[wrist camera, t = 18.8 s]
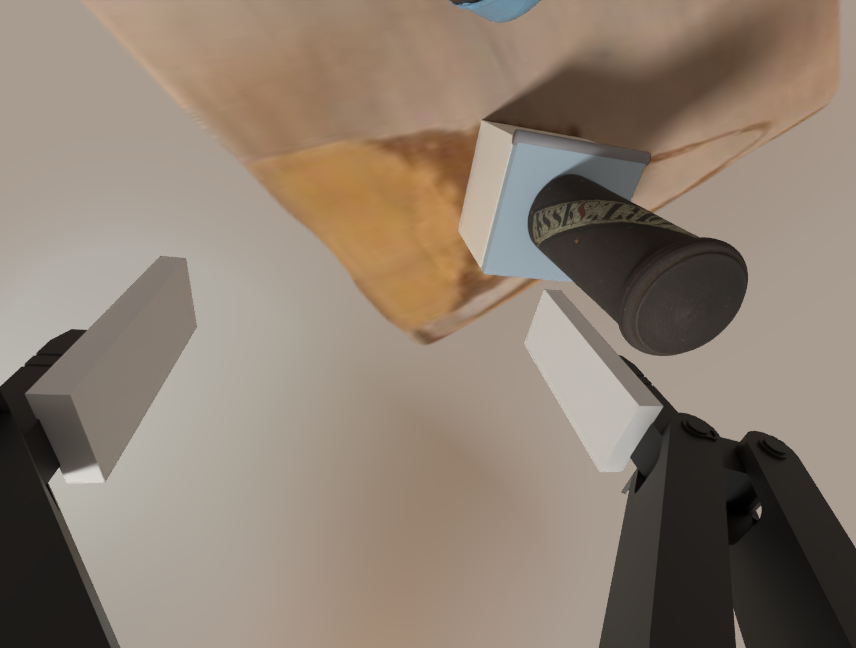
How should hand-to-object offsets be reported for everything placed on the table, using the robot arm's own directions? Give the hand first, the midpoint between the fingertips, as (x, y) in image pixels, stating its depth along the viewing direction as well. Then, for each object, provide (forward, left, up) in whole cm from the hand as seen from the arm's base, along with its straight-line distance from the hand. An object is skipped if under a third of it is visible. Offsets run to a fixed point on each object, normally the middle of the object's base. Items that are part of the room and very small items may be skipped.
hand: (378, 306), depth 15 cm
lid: (+3, +21, -27) cm, 35 cm away
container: (+3, +21, -26) cm, 34 cm away
